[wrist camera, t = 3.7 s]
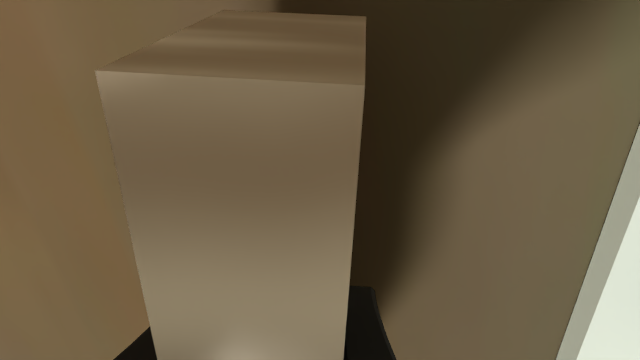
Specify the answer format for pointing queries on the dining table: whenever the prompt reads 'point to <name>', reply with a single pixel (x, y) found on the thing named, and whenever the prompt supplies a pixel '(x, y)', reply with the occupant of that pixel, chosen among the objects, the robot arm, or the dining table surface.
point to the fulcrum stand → (611, 281)
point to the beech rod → (242, 181)
